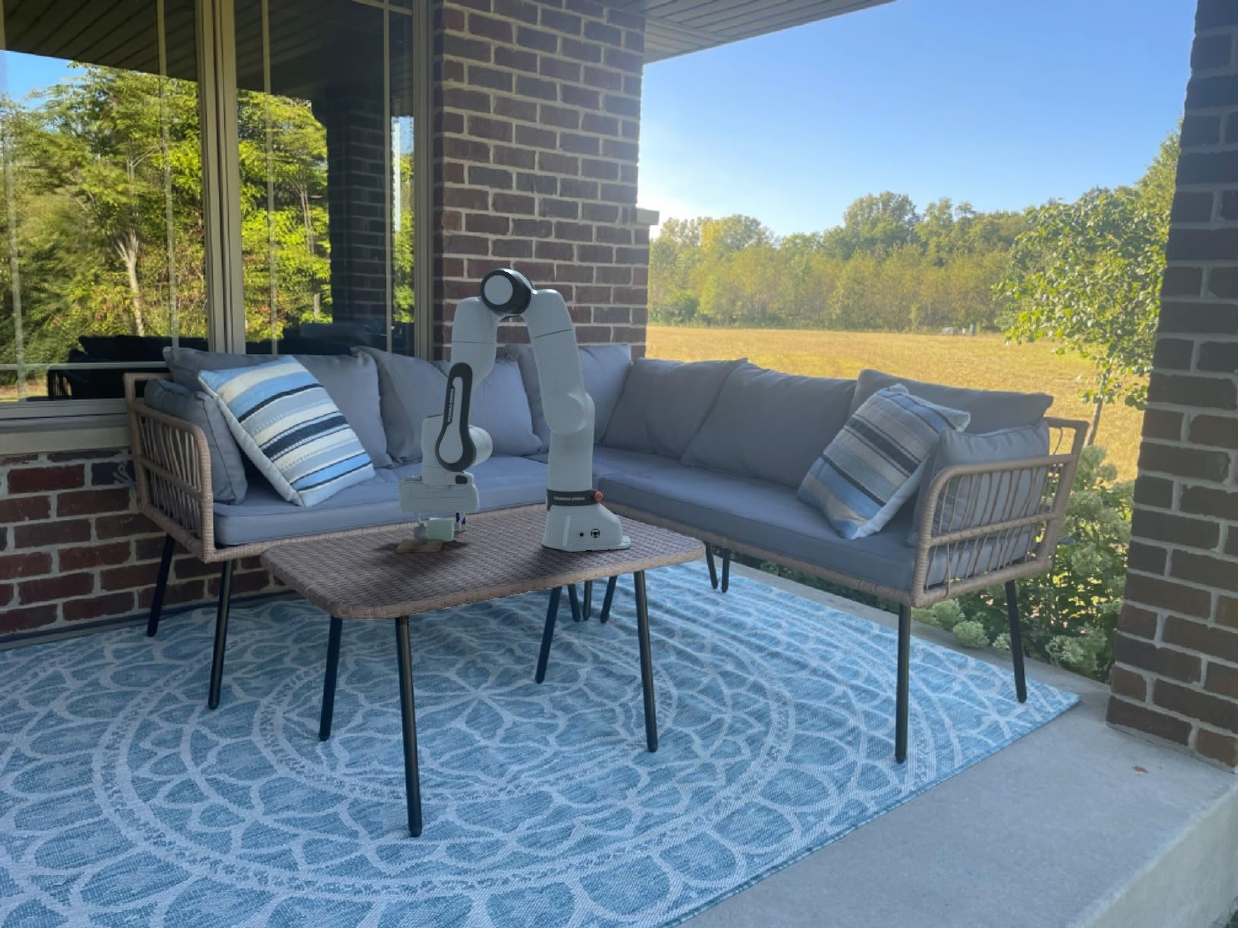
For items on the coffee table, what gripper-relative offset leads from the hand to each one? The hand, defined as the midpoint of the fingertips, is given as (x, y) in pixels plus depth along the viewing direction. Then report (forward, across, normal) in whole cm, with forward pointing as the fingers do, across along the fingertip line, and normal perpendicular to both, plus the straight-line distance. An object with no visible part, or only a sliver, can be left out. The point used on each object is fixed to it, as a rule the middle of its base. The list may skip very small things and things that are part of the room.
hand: (439, 529), depth 230 cm
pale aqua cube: (+2, 0, 0) cm, 3 cm away
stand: (+2, -4, -10) cm, 11 cm away
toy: (+3, +4, +9) cm, 10 cm away
